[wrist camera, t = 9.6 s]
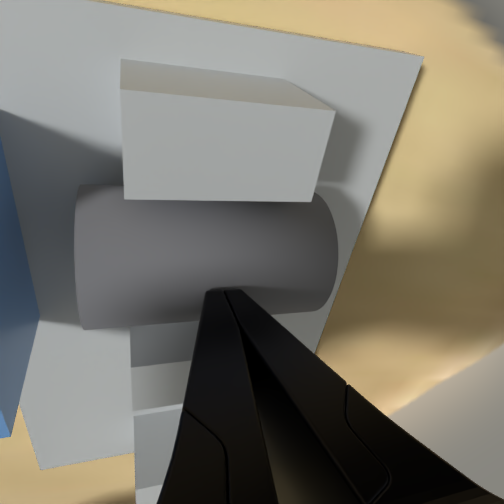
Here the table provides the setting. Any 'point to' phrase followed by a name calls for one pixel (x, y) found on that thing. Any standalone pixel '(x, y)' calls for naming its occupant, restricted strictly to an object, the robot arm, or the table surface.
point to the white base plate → (159, 191)
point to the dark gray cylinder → (197, 256)
